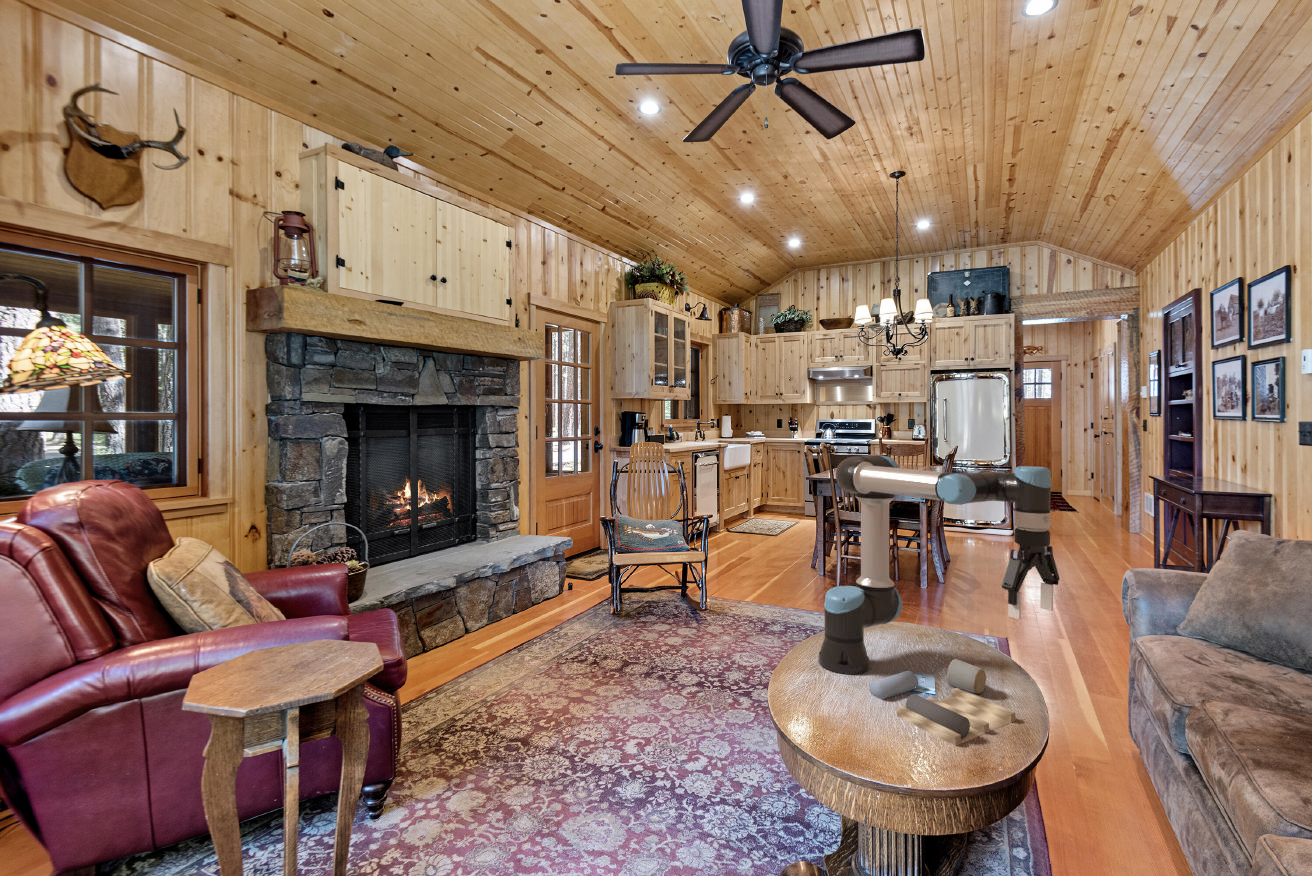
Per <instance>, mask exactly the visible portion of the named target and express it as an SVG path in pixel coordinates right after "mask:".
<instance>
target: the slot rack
mask: <svg viewBox="0 0 1312 876" xmlns="http://www.w3.org/2000/svg"><path fill="white" fill-rule="evenodd" d="M924 699H926V700H929V701H931V702H933V703H935V704H937V705H940V706H942V707H944V708H946V709H948V710H951V711H953V712H955V713H957V714H959V715H961V716H964V717H966V718H968V720H969V722H970V729H969V732H968V734H967V736H966V737H965V738H963V739H961V735H960V734H958V733H956V732H954V731H952V730H950V729H948V728H946V727H944V726H942V725H940V724H938V723H935V722H933V721H931V720H929V719H927V718H925V717H923V716H921V715H919V714H917V713H915V712H913V711H911V710H909V709H907V708H906V706H905V707H904V706H902V705H901V706H899V707H897V708H896V717H897V718H900V719H902V720H904V721H906V722H907V723H910V724H912V725H914V726H915V727H917V728H919V729H922V730H924V731H925V732H928V734H931V735H933V736H935V737H937V738H939V739H940V740H942V741H945V742H947V743H948V744H950V745H952V746H954V747H957V746H958V745H962V744H963V743H965V742H968V741H970V740H973V739H974V738H977V737H978V738H979V737H980V736H982V735H985V734H987V733H990V732H991V731H994V730H997V729H999V728H1001V727H1003V726H1006V725H1009V724H1011V723H1013V722H1015V721H1016V711H1013V710H1010V709H1008V708H1005V707H1003V706H1001V705H998V704H996V703H993V702H992V701H989V700H987V699H984V698H981V697H979V696H977V695H976V694H973V693H970V692H968V691H965V690H962V689H959V688H956V687H954V688H952V689H951V696H950V697H948V698H947V697H946V698H944V699H941V700H938V699H937V698H934V697H932V696H929V697H925V698H924Z"/></svg>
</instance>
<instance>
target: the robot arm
mask: <svg viewBox="0 0 1312 876" xmlns="http://www.w3.org/2000/svg"><path fill="white" fill-rule="evenodd" d="M1051 475H1052V473H1051V470H1050V469H1049V468H1048V467H1045V466H1031V465H1030V466H1029V465H1020V466H1016V468H1015V471H1014V472H1013V473H1011V472H998V471H997V472H996V471H989V470H975V471H973V472H972V471H971V472H970V473H957V472H945V471H937V470H936V471H934V470H923V469H915V468H914V469H910V468H903V467H902V468H900V466H899V464H898V463H897V462H896V461H895V460H894V459H893V458H892V457H889V456H885V455H878V454H876V455H866V456H865V455H864V456H863V455H861V456H850V457H847V458H845V459H843V460H842V461H841V462H839V464H838V465H837V467H836V470H835V479H836V480H835V481H836V483H837V485H838V487H840V489H842V490H843V491H844V492H847V493H850V494H855V498H856V499H857V500H858V502H859V503H860V576H859V577H858V578H857V579H856V581H855V586H854V585H853V586H852V585H844V586H843V585H840V586H838V585H837V586H834V587H831V588H829V589H828V590H827V591H826V593H825V596H824V597H825V598H824V603H823V606H824V638H823V642H822V644H821V648H820V651H819V653H818V663H819V665H820V666H821V667H822V668H824V669H826V670H828V671H831V672H834V673H839V674H844V675H845V674H846V675H858V674H863V673H866V672H868V671H869V670H870V668H871V667H870V663H871V662H870V658H869V656H868V653H867V649H866V646H865V642H864V641H865V640H864V638H865V637H864V636H865V633H864V632H865V629H866V628H867V629H868V628H871V627H874V626H879V625H887V624H889V623H890V622H891V623H892V622H893V621H895V620H896V619H898V617H899V616H900V615H901V612H902V610H903V600H902V596H901V594H899V591H898V589H896V587H895V582H894V581H893V580H892V579H891V578H890V503H892V501H893V500H895V495H897V496H904V497H914V498H919V499H929V500H935V501H936V500H937V501H943V502H945V503H946V504H949V505H958V506H959V505H960V506H961V505H962V506H963V505H965V504H973V503H982V502H984V503H985V502H994V501H995V502H1004V503H1005V502H1006V503H1014V526H1015V527H1016V528H1015V529H1014V542H1015V543H1016V544H1017V545H1019V549H1018V550H1017V549H1010V552H1009V553H1010V554H1009V561H1008V564H1007V567H1006V570H1005V575H1004V577H1003V580H1002V584H1001V588H1002V589H1004V590H1006V591H1007V592H1008V594H1007V595H1008V596H1007V599H1008V600H1007V602H1008V603H1007V606H1008V607H1007V616H1008V617H1010V618H1014V619H1016V620H1021V619H1022V591H1020V589H1021V587H1022V586H1023V583H1024V581H1025V579H1026V577H1027V575H1028V572H1029V571H1031V570H1032V569H1033V568H1036V571H1037V573H1038V575H1039V576H1040V578H1041V580H1042V582H1040V597H1039V599H1040V602H1039V603H1040V604H1039V608H1040V609H1042V610H1046V611H1049V612H1053V611H1054V585H1055V586H1058V585H1059V581H1060V575H1059V572H1058V567H1057V564H1056V561H1055V557H1054V551H1053V550H1054V549H1053V546H1051V532H1050V528H1051V521H1052V517H1051V497H1052V496H1051V494H1052V486H1053V484H1052V480H1051V477H1052V476H1051Z"/></svg>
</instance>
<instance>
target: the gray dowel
mask: <svg viewBox="0 0 1312 876" xmlns="http://www.w3.org/2000/svg"><path fill="white" fill-rule="evenodd" d="M917 686H918V687H919V679H918V676H917V675H916V674H915V673H914V672H913V671H911V670H905V671H902V672H900V673H896V674H892V675H889V676H886V677H883V678H878V679H876V680H873V681H870V683H869V686H868V687H869V692H870V695H871V696H873V697H876V698H877V699H879V700H882V701H883V700H886V699H889V698H892V697H895V696H898V695H901V694H904V693H907V692H911V691H913V690H912V689H914V688H915V687H917ZM918 687H917V688H918ZM914 690H915V689H914Z"/></svg>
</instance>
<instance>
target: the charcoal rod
mask: <svg viewBox="0 0 1312 876" xmlns="http://www.w3.org/2000/svg"><path fill="white" fill-rule="evenodd" d="M905 708H907V709H909V710H911V711H913V712H915V713H917V714H919V715H921V716H923V717H925V718H927V719H929V720H931V721H933V722H935V723H938V724H940V725H942V726H944V727H946V728H948V729H950V730H952V731H954V732H956V733H958V734H960V735H961V739H963V738H965V737H966V736H967V734H968V732H969V729H970V722H969V720H968V718H966V717H964V716H961V715H959V714H957V713H955V712H953V711H951V710H948V709H946V708H944V707H942V706H940V705H937V704H935V703H933V702H931V701H929V700H926V699H925V698H924V697H922V696H919V695H918V694H915V693H912V694H910V695H908V697H907V699H906V701H905Z"/></svg>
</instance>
